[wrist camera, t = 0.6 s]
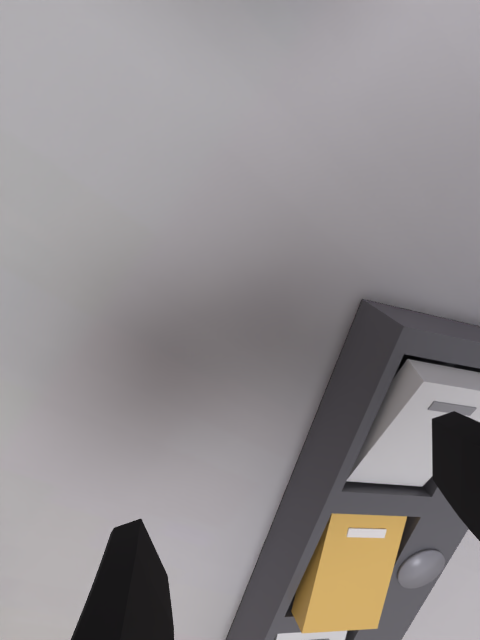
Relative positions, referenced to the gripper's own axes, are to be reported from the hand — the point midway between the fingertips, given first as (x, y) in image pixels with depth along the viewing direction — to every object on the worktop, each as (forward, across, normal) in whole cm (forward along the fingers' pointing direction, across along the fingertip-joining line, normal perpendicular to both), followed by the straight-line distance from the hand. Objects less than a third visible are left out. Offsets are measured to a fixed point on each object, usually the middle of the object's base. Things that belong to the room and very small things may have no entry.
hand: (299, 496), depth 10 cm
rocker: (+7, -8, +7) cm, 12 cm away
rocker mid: (+7, -3, +15) cm, 17 cm away
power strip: (+10, -4, +17) cm, 20 cm away
